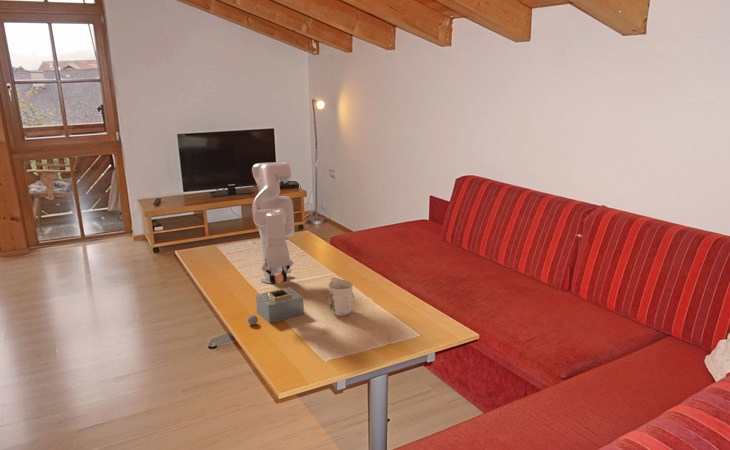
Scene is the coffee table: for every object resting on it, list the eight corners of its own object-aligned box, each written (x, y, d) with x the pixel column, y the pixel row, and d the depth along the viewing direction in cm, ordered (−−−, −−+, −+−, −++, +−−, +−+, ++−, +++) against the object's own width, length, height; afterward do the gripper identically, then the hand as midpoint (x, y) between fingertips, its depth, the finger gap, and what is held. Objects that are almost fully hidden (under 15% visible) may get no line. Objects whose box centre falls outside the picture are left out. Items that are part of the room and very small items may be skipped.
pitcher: (339, 324, 225) (338, 293, 221) (322, 308, 240) (321, 279, 236) (363, 319, 229) (362, 288, 226) (345, 303, 245) (344, 275, 241)
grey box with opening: (290, 303, 246) (289, 284, 244) (304, 314, 235) (303, 294, 232) (257, 311, 238) (255, 292, 235) (269, 323, 227) (268, 303, 224)
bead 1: (252, 311, 227) (244, 318, 225) (255, 315, 223) (248, 321, 222) (257, 318, 229) (249, 324, 227) (260, 321, 225) (253, 328, 224)
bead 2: (281, 280, 235) (280, 270, 234) (285, 283, 232) (285, 273, 231) (271, 282, 233) (271, 272, 232) (275, 285, 229) (275, 275, 228)
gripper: (290, 236, 235) (292, 275, 240) (253, 242, 226) (256, 283, 231) (298, 240, 229) (300, 280, 234) (260, 246, 220) (263, 288, 225)
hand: (278, 281), depth 232 cm, fingers closed on bead 2, 4 cm apart
